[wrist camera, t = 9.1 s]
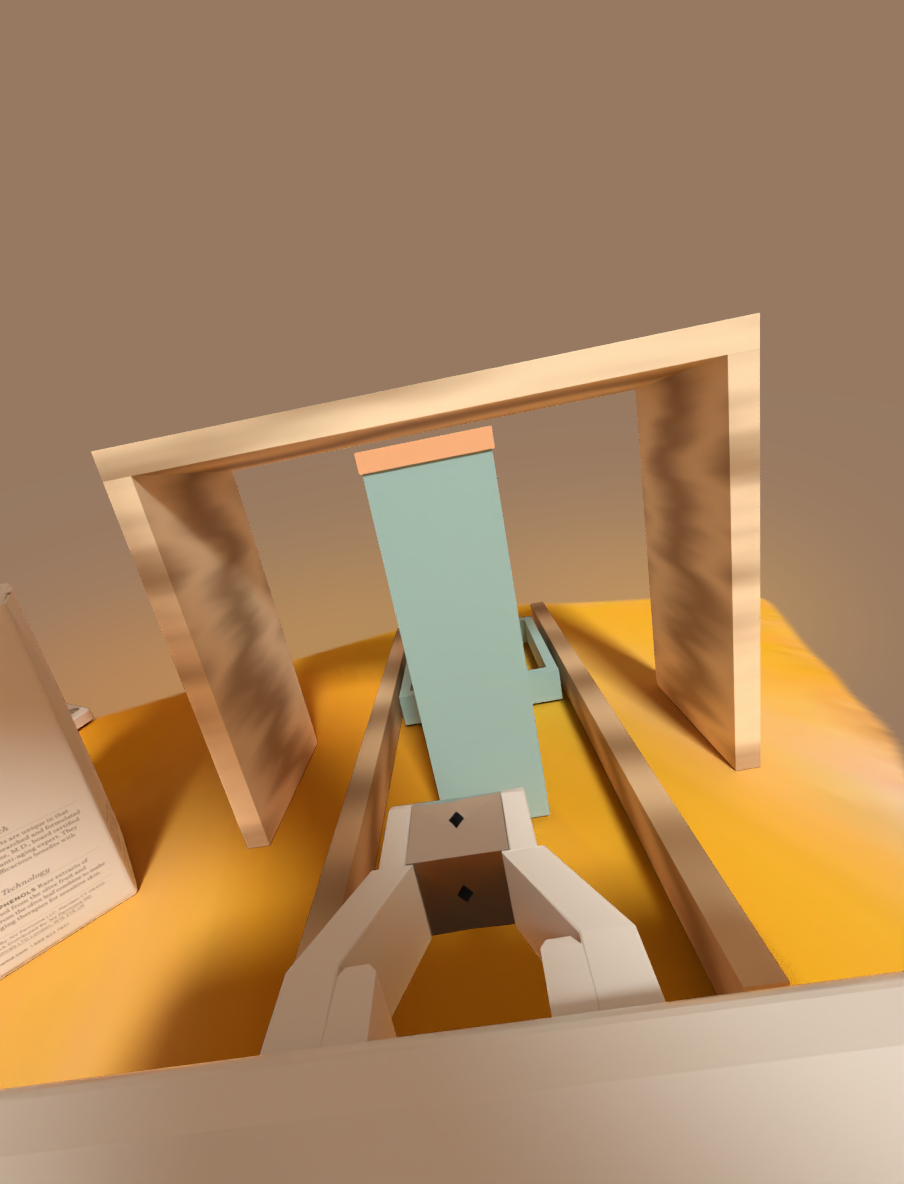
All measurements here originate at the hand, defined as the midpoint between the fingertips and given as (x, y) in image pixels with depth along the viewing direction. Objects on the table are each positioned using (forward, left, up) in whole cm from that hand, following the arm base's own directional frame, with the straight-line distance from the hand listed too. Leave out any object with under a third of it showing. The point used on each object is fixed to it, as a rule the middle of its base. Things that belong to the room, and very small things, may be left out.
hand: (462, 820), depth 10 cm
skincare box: (-24, -7, -10) cm, 26 cm away
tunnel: (-11, +13, -10) cm, 20 cm away
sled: (-13, +16, -9) cm, 22 cm away
